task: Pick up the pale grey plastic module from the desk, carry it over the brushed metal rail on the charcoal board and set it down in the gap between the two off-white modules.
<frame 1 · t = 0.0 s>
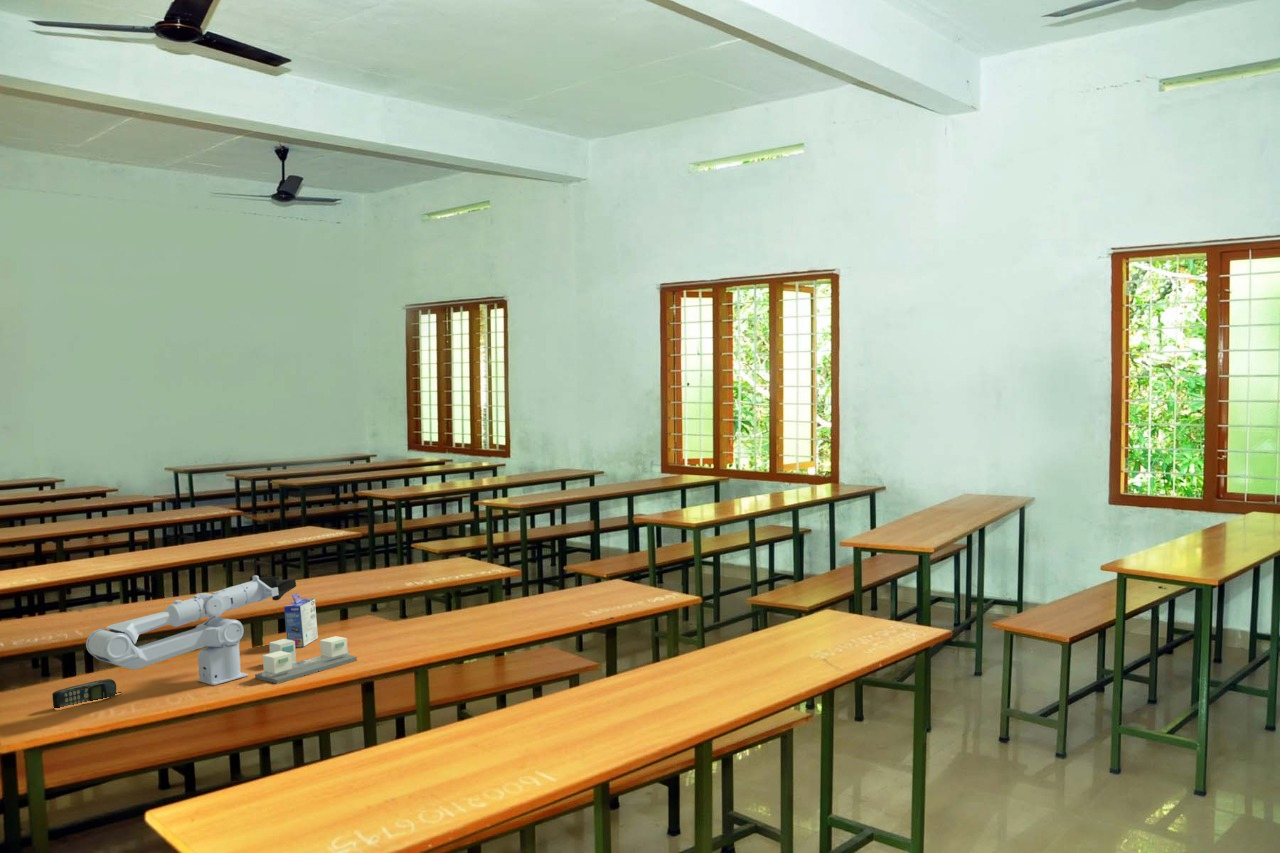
hand: (286, 581, 266), 22 cm above the table, tool horizontal, fingers open, 7 cm apart
din board: (307, 669, 257), on the table
mobile phone: (88, 704, 236), on the table
ink cartridge box: (302, 643, 286), on the table
mounted modules: (306, 654, 257), on the din rail, point 4 cm above the table
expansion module: (283, 663, 264), on the table
din rail: (307, 663, 257), on the din board, point 1 cm above the table
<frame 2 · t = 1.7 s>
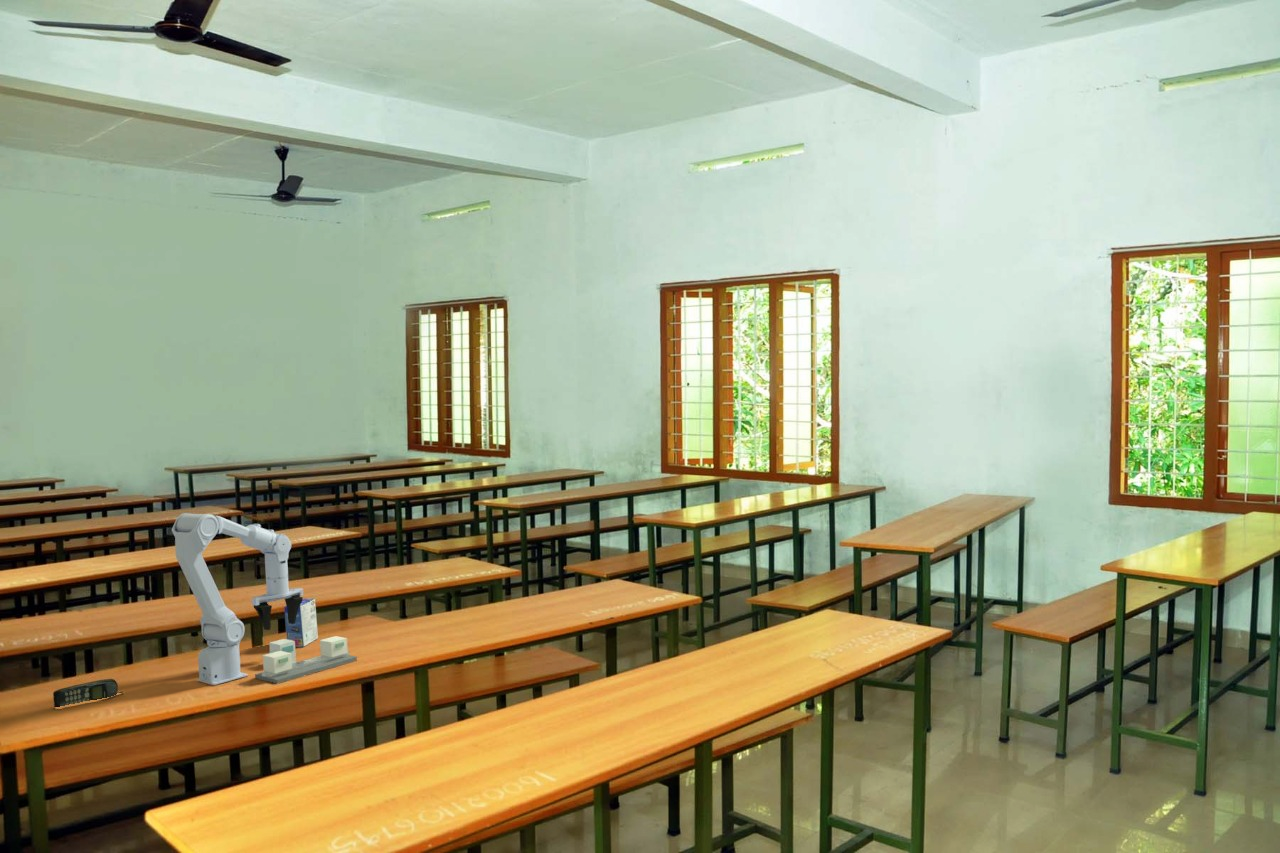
hand: (279, 626, 267), 9 cm above the table, tool pointing down, fingers open, 7 cm apart
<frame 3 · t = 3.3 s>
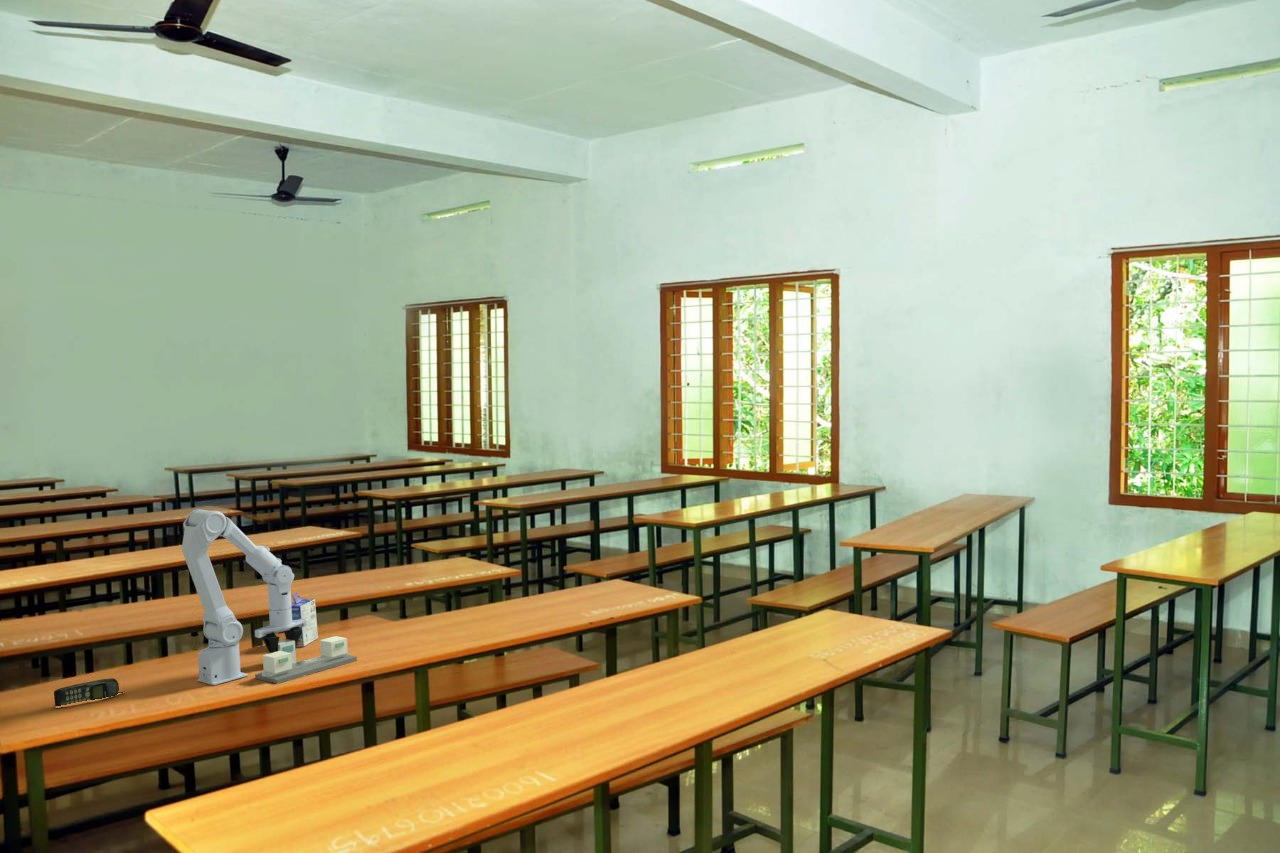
hand: (283, 658, 264), 1 cm above the table, tool pointing down, fingers closed on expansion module, 4 cm apart
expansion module: (283, 663, 264), on the table, touching gripper
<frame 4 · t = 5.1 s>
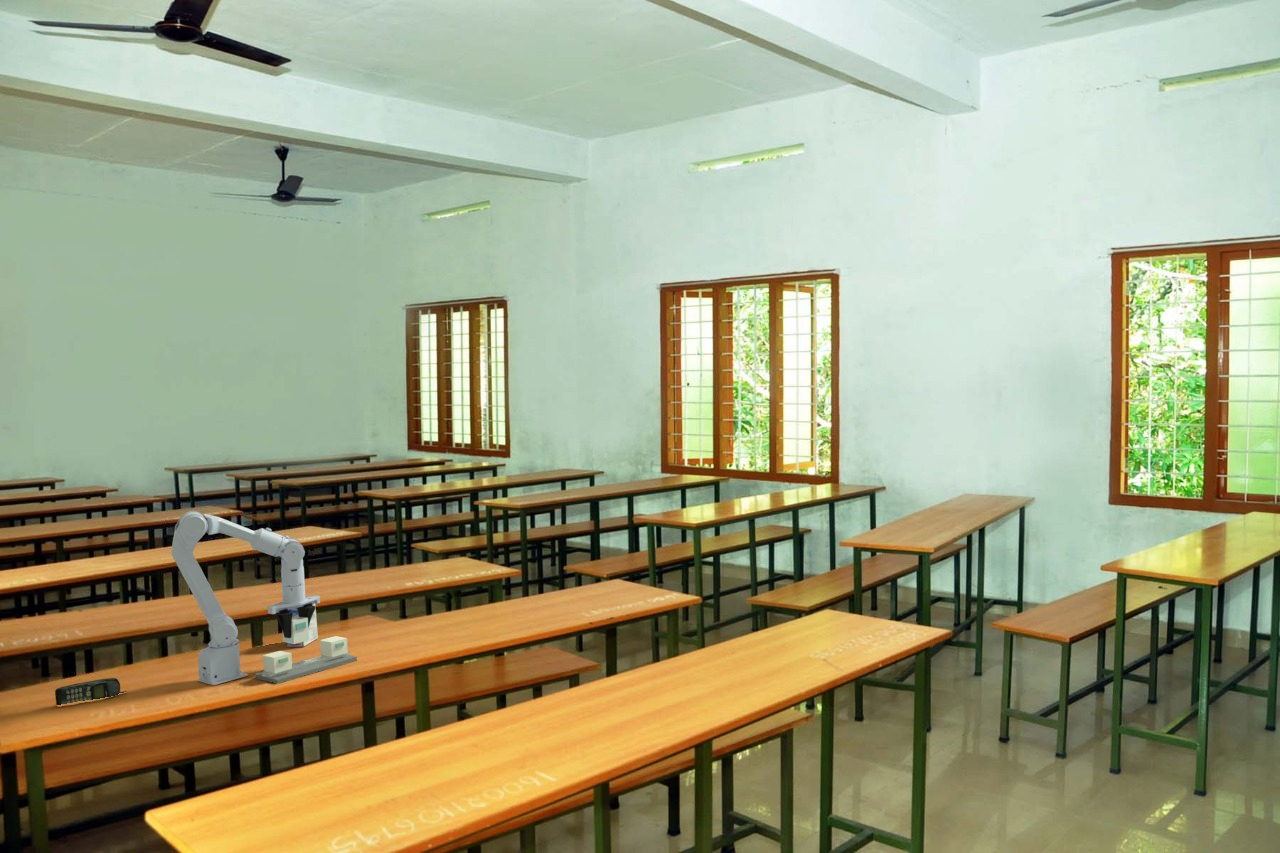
hand: (296, 635, 260), 8 cm above the table, tool pointing down, fingers closed on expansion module, 4 cm apart
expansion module: (296, 641, 260), point 7 cm above the table, touching gripper
when the fingers open (5 cm above the table, at t = 6.7 s): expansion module drops 1 cm, resting on din rail.
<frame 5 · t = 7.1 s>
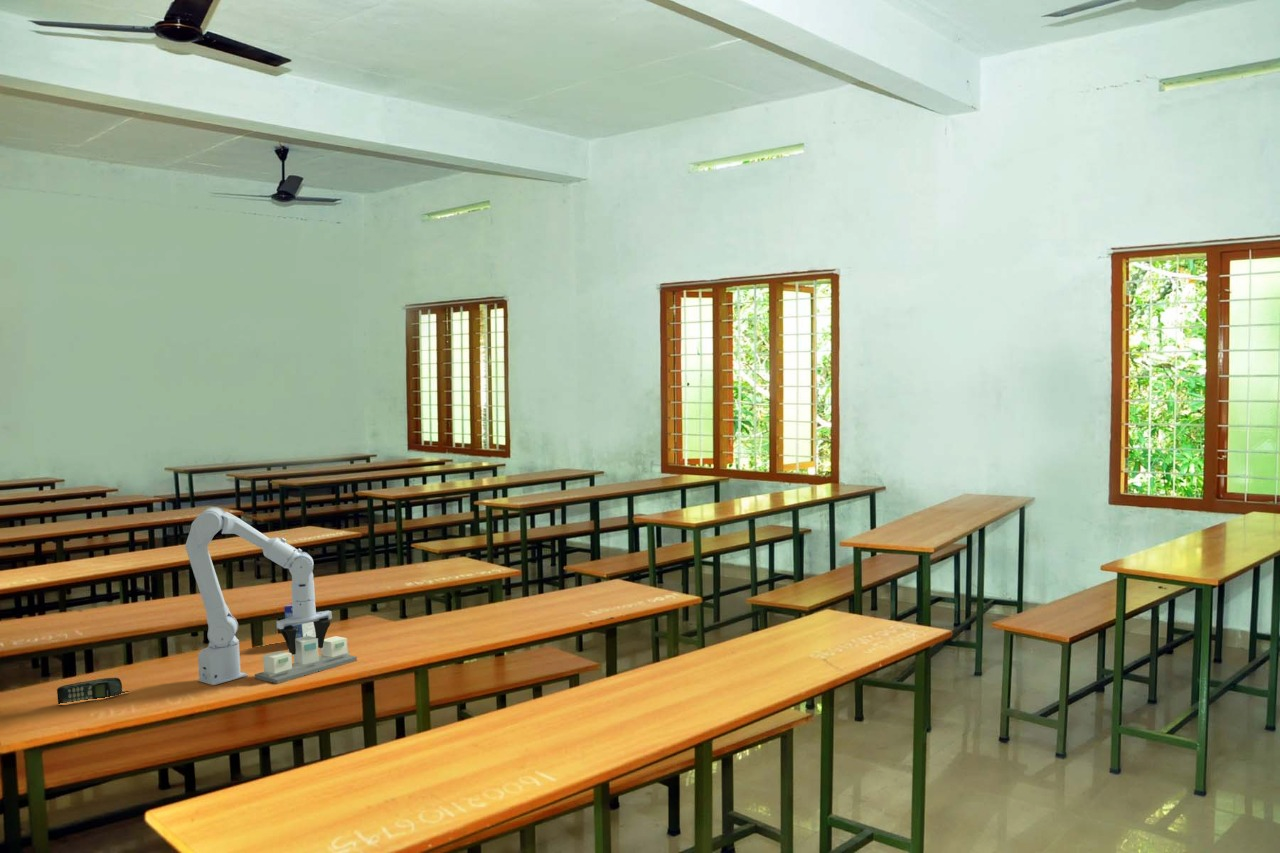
hand: (306, 650, 257), 5 cm above the table, tool pointing down, fingers open, 7 cm apart
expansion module: (306, 661, 258), point 2 cm above the table, touching din rail
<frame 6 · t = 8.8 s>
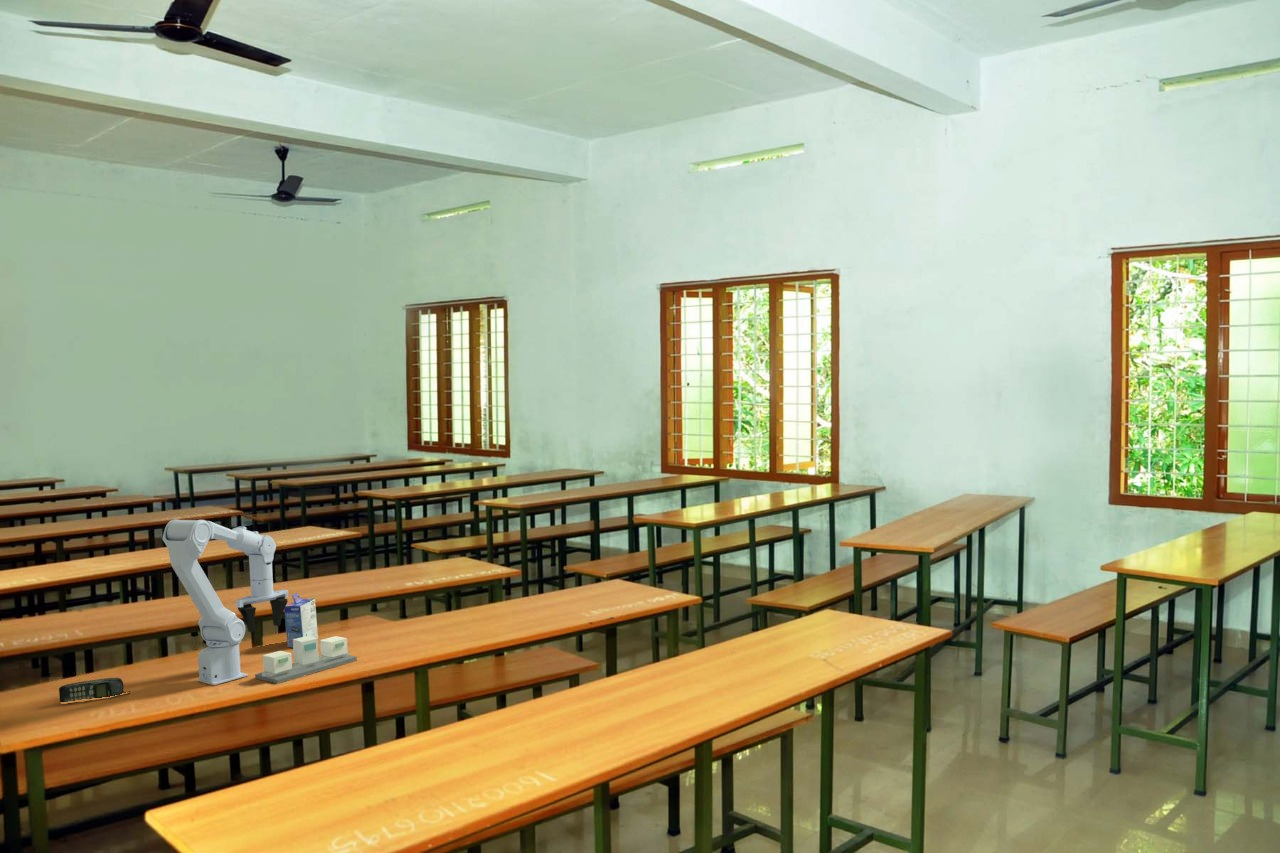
hand: (264, 628, 265), 9 cm above the table, tool pointing down, fingers open, 7 cm apart
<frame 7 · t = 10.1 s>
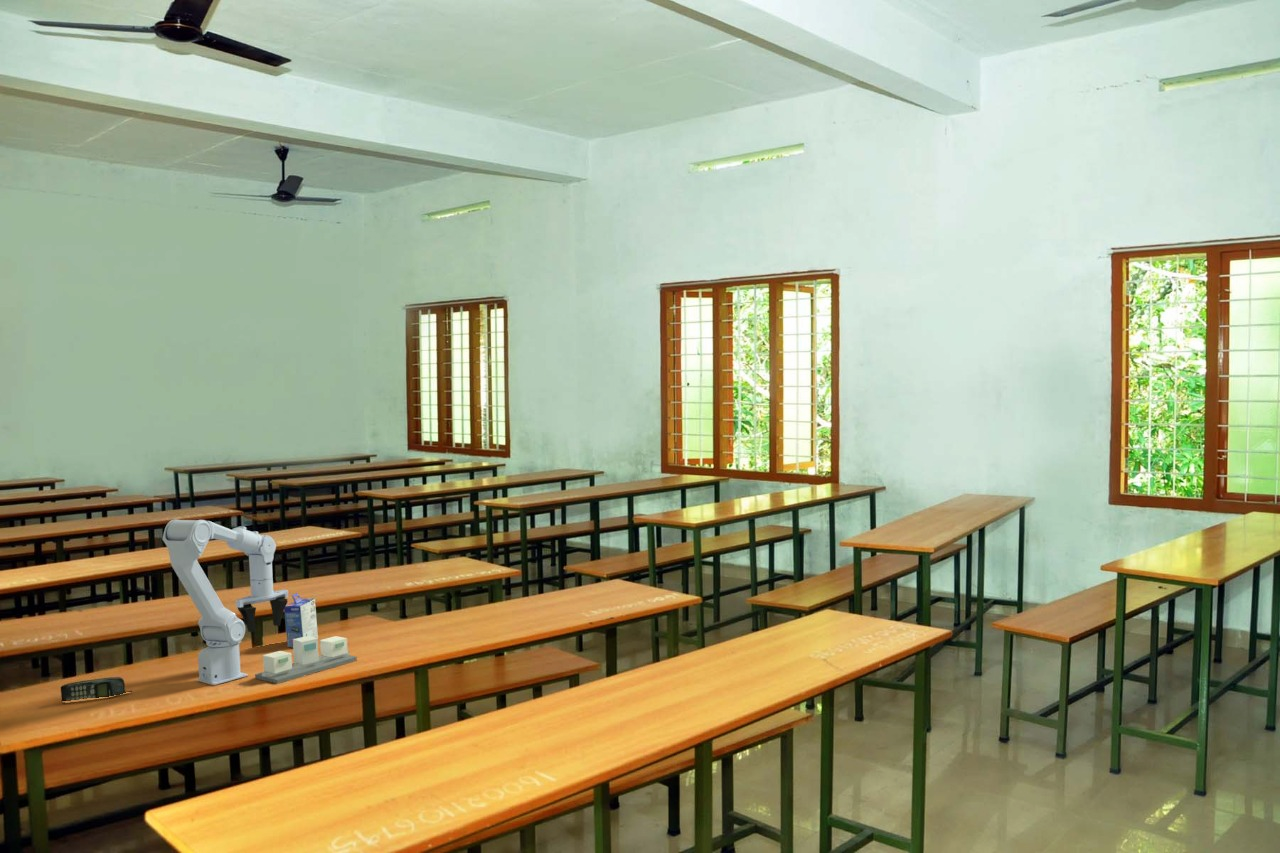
hand: (264, 628, 265), 9 cm above the table, tool pointing down, fingers open, 7 cm apart
at the end: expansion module 0.3 cm off-centre on the din rail, point 2.0 cm above the din rail's base; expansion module tilted 0°; the gripper is holding nothing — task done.
